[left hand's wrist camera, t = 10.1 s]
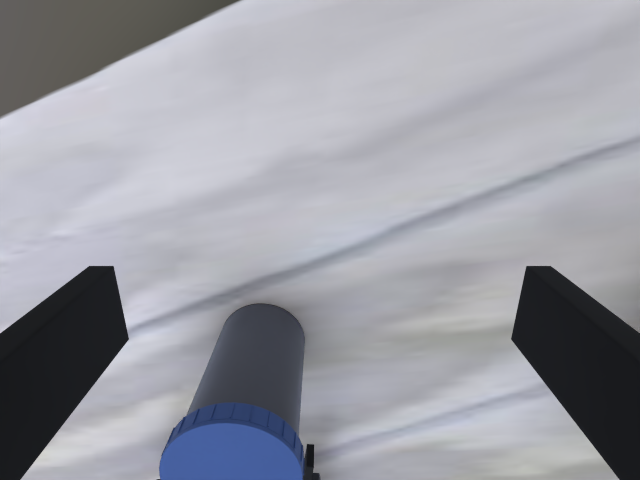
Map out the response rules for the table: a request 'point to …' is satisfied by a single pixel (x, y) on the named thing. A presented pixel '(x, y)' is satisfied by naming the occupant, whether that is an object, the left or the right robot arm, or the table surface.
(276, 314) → the jar
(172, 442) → the lid
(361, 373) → the table surface
